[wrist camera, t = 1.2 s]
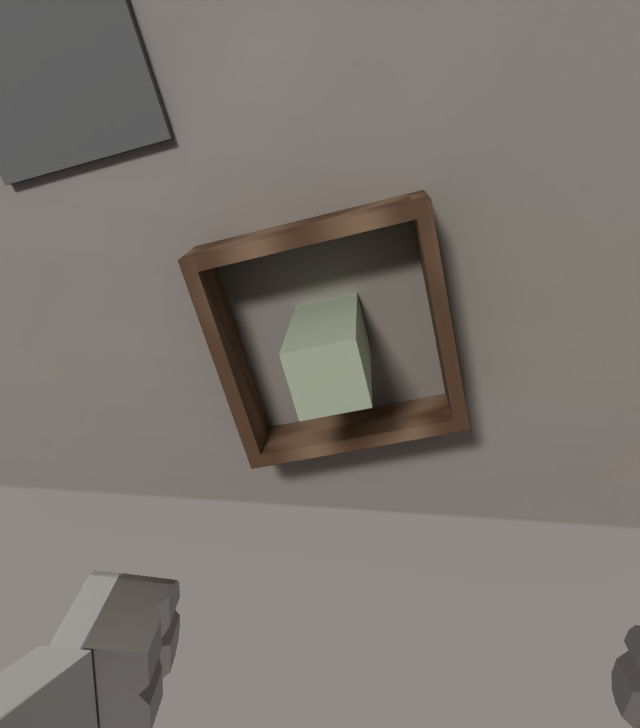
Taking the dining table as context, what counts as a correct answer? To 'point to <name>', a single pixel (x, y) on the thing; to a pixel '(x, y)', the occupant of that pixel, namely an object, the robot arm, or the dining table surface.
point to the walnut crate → (343, 428)
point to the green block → (328, 358)
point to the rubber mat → (73, 86)
